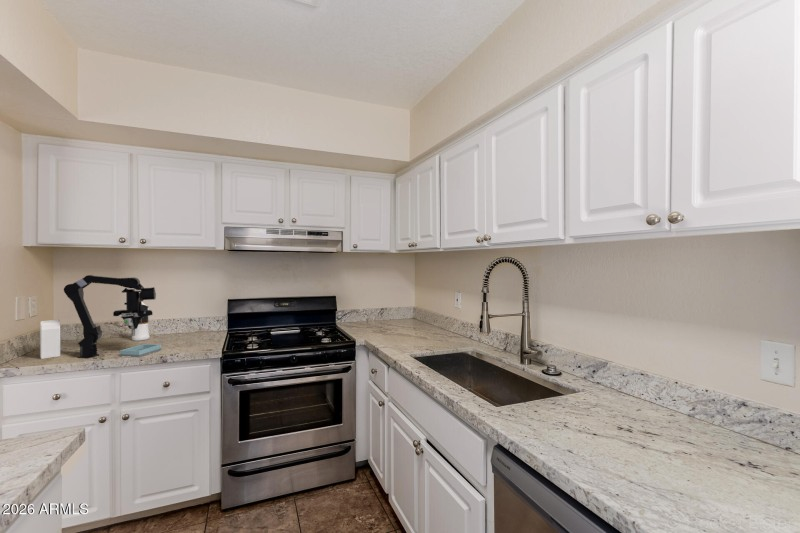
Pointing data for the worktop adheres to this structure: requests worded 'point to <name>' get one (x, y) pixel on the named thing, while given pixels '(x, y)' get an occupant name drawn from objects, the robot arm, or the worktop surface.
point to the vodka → (142, 327)
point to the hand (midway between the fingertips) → (133, 328)
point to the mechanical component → (131, 324)
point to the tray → (140, 350)
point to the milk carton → (50, 339)
